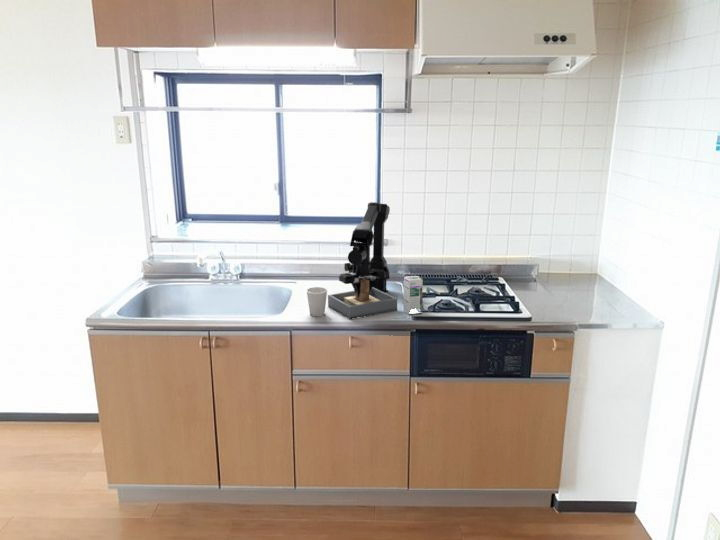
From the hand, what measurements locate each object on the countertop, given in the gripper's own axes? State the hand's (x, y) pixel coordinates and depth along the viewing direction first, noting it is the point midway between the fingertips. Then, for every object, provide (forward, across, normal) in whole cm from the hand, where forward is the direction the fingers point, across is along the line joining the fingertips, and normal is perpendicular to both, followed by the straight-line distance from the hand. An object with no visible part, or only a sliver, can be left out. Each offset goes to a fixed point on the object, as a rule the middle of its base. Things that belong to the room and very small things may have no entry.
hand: (362, 296), depth 218 cm
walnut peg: (+2, 0, 0) cm, 2 cm away
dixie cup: (+5, +19, -3) cm, 20 cm away
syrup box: (+5, -15, +14) cm, 21 cm away
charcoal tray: (+5, 0, 0) cm, 5 cm away
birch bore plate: (+5, 0, 0) cm, 5 cm away
